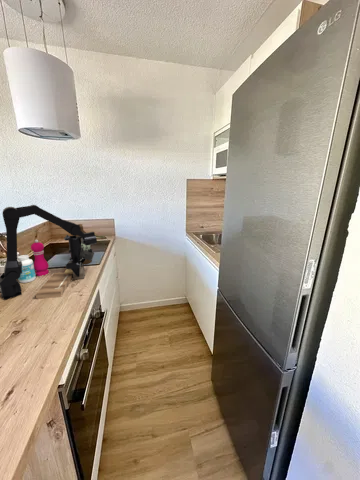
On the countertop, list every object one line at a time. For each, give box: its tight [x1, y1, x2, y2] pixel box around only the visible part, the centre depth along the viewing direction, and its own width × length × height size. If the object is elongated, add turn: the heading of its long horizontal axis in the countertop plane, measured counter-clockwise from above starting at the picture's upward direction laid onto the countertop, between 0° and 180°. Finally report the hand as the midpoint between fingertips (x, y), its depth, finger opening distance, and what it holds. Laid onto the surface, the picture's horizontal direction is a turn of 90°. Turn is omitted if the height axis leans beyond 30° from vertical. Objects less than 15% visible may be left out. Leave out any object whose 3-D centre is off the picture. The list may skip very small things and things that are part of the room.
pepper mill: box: [30, 239, 50, 277], centre depth 115 cm, size 7×7×20 cm
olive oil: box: [72, 223, 93, 266], centre depth 132 cm, size 11×11×25 cm
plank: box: [35, 271, 74, 300], centre depth 103 cm, size 23×10×3 cm, turn 12°
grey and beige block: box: [64, 265, 86, 280], centre depth 112 cm, size 4×9×6 cm, turn 104°
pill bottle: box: [17, 254, 37, 284], centre depth 108 cm, size 8×7×14 cm
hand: (79, 274), depth 113 cm, fingers closed on grey and beige block, 4 cm apart
